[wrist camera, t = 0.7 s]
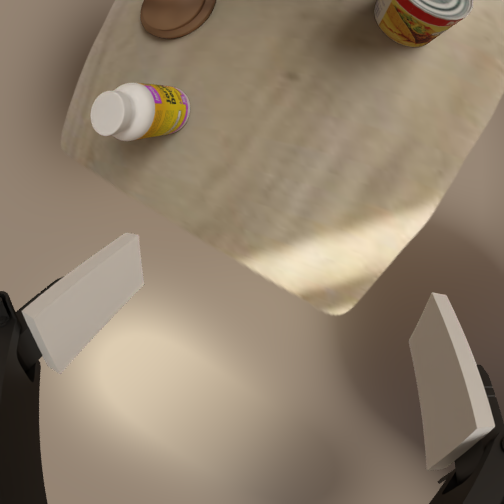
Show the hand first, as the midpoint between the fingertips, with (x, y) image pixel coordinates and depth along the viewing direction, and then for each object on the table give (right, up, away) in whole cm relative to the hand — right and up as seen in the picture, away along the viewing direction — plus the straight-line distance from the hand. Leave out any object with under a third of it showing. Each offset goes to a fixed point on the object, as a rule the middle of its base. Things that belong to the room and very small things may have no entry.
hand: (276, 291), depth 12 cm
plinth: (-11, +35, +15) cm, 39 cm away
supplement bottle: (-12, +21, +23) cm, 33 cm away
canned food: (+17, +29, +10) cm, 35 cm away
